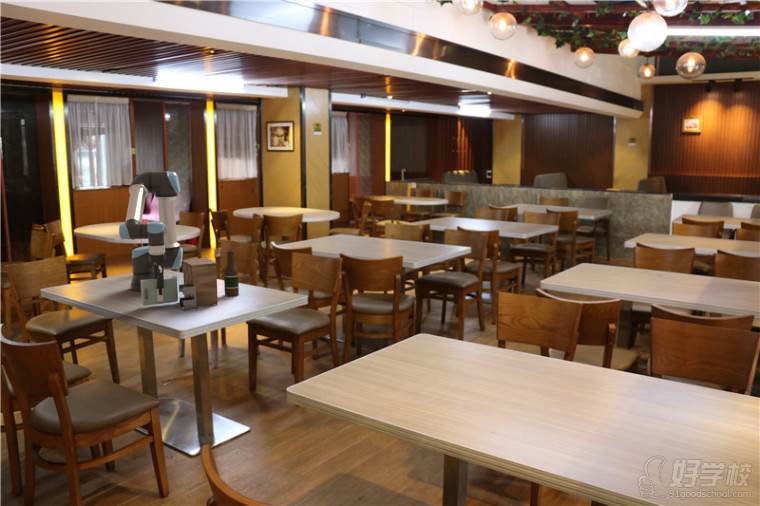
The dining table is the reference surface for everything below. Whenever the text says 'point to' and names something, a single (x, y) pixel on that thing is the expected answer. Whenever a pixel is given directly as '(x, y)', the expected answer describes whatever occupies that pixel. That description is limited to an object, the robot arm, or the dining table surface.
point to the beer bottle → (231, 277)
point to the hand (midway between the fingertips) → (159, 300)
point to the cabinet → (202, 280)
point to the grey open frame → (188, 302)
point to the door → (151, 292)
